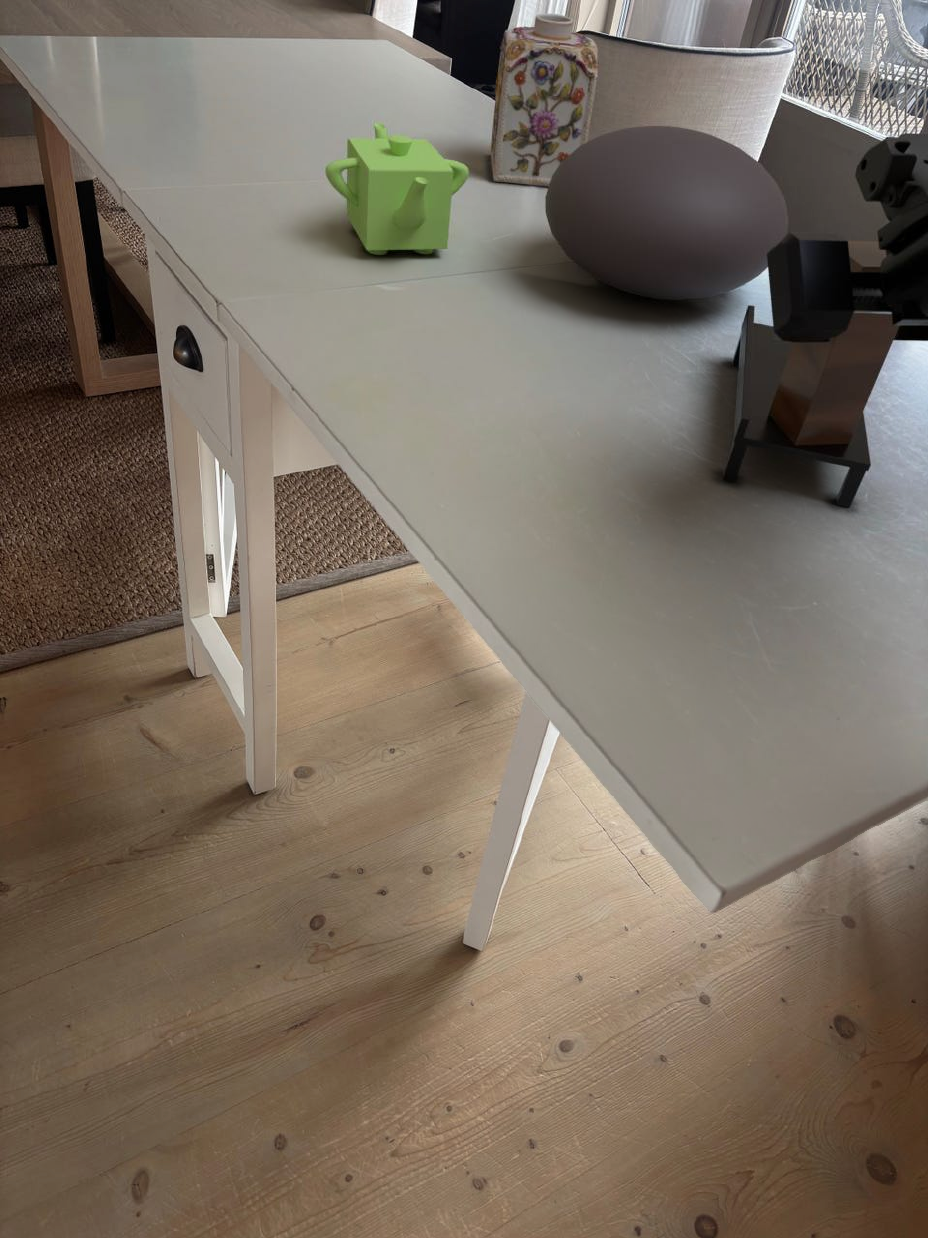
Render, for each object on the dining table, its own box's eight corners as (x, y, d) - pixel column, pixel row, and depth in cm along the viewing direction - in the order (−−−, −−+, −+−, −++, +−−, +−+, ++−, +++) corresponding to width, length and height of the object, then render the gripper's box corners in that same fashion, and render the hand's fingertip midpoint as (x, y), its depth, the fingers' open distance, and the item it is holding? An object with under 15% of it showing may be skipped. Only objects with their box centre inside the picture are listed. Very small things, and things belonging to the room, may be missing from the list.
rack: (837, 381, 88) (859, 326, 84) (851, 509, 72) (879, 447, 68) (731, 360, 89) (748, 304, 86) (720, 480, 73) (741, 418, 69)
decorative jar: (572, 163, 131) (596, 12, 119) (580, 190, 123) (607, 31, 111) (487, 154, 131) (503, 2, 119) (489, 182, 122) (507, 20, 110)
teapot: (373, 208, 110) (377, 108, 103) (477, 236, 107) (488, 135, 100) (305, 247, 100) (304, 138, 93) (419, 279, 96) (426, 169, 89)
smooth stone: (592, 342, 89) (625, 177, 79) (502, 242, 106) (520, 95, 96) (809, 328, 97) (864, 176, 87) (691, 236, 114) (726, 100, 104)
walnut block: (849, 444, 71) (924, 267, 62) (794, 445, 70) (863, 266, 61) (820, 413, 74) (888, 241, 65) (768, 414, 73) (829, 240, 64)
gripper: (1116, 106, 56) (932, 227, 71) (837, 89, 52) (705, 221, 67) (1136, 292, 55) (946, 373, 71) (855, 289, 51) (718, 376, 66)
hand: (832, 333), depth 69 cm, fingers open, 9 cm apart
